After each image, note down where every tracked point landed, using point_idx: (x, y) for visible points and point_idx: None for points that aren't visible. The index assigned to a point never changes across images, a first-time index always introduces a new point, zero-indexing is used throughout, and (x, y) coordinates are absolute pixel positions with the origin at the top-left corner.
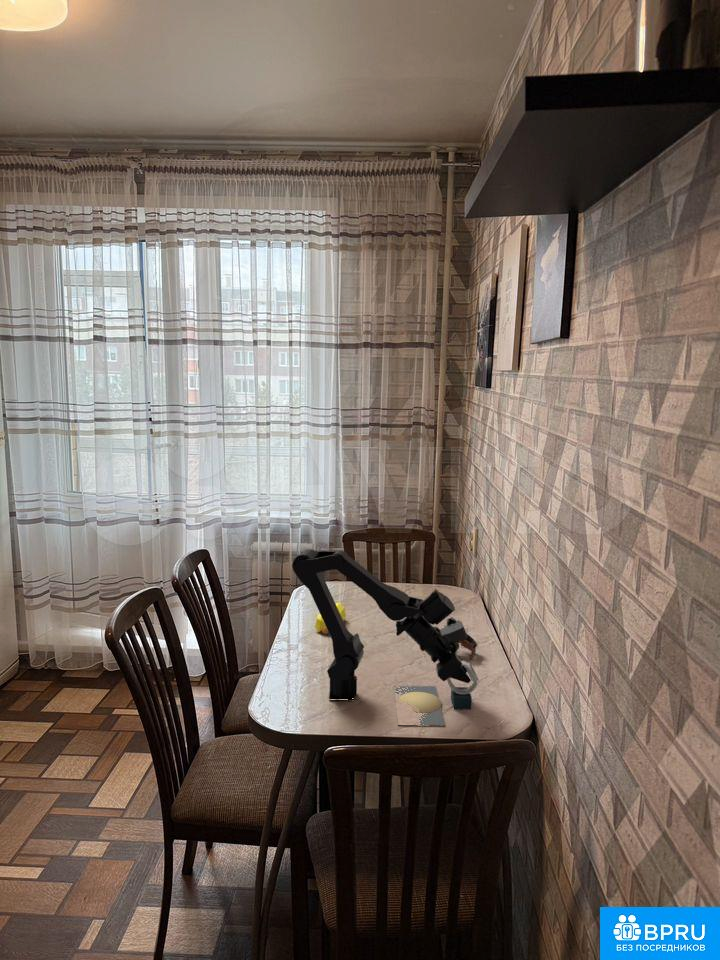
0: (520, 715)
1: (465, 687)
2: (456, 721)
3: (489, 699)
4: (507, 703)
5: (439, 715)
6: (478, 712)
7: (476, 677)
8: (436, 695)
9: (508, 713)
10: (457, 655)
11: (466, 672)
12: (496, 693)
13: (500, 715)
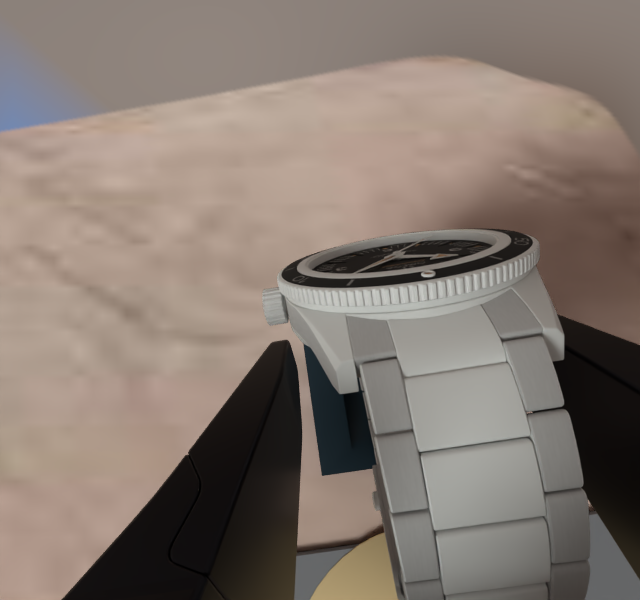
0: (436, 94)
1: (311, 363)
2: None
3: (296, 234)
4: (324, 150)
5: (599, 537)
6: None
7: (502, 230)
8: (315, 561)
9: (430, 145)
10: (141, 521)
11: (290, 350)
12: (223, 201)
13: (463, 180)
